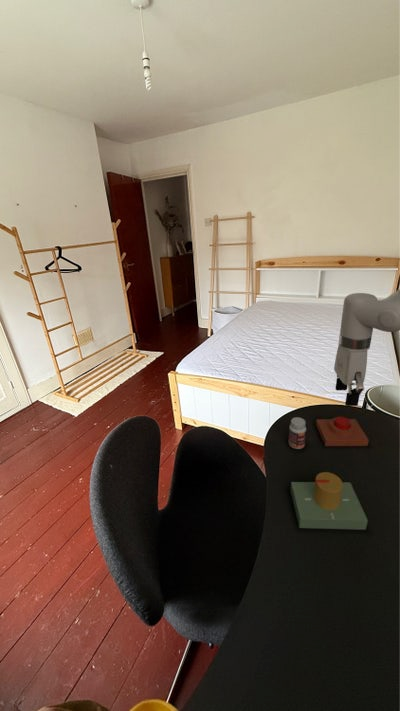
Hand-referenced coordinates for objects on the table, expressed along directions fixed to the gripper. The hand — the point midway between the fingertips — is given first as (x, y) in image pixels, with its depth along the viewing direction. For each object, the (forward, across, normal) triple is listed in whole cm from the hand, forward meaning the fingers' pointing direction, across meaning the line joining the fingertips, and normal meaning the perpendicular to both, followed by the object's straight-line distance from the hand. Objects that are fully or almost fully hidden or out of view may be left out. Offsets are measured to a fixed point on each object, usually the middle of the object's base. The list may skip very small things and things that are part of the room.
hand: (346, 396), depth 86 cm
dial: (+11, +26, -12) cm, 31 cm away
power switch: (+14, 0, 0) cm, 14 cm away
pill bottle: (+14, +4, -14) cm, 20 cm away
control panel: (+14, +26, -12) cm, 32 cm away
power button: (+10, 0, 0) cm, 10 cm away
